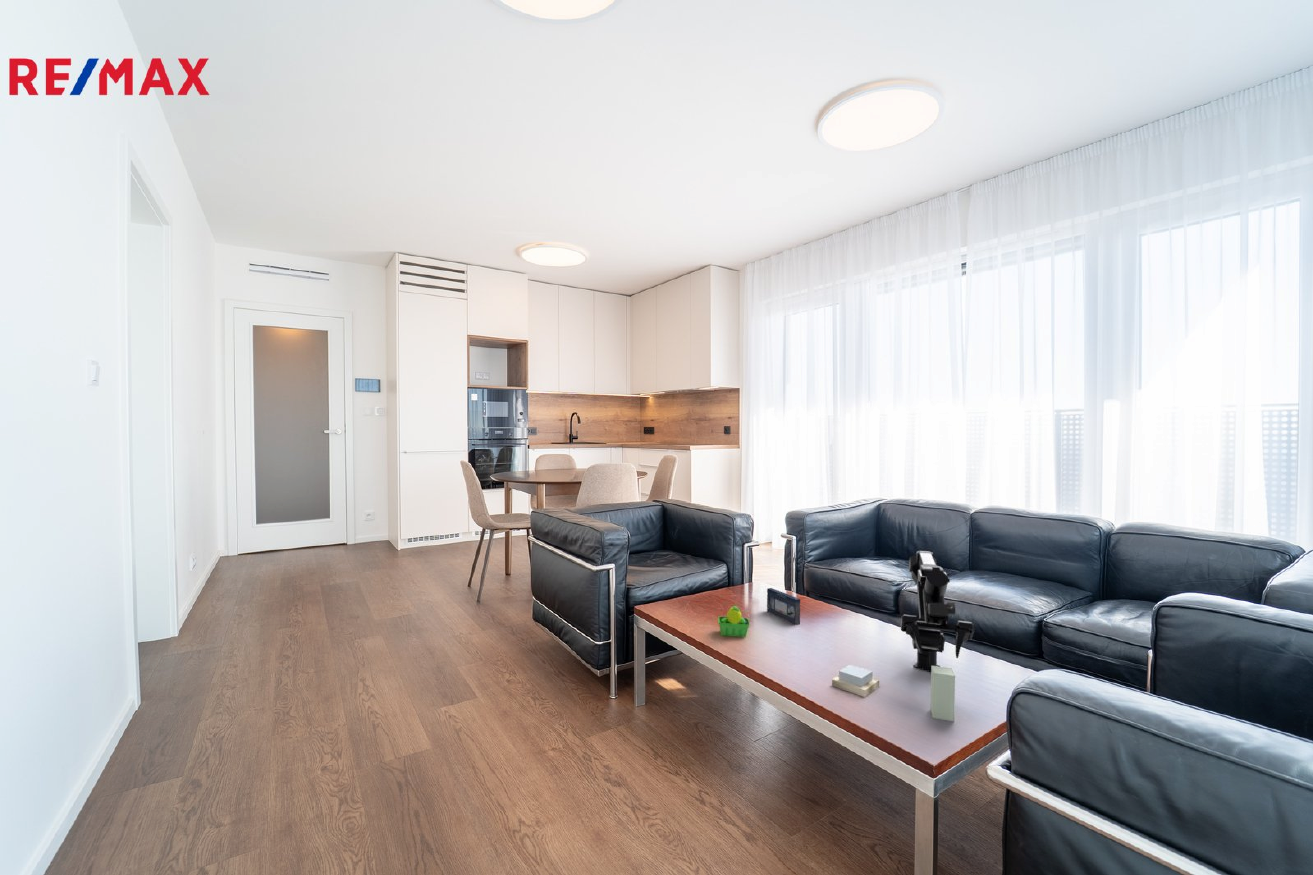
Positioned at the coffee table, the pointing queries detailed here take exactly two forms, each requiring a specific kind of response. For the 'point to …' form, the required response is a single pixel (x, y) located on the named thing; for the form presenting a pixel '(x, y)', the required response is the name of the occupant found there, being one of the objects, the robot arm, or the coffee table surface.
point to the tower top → (855, 675)
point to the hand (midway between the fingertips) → (938, 655)
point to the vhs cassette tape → (783, 605)
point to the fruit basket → (733, 623)
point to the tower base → (856, 686)
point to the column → (942, 693)
